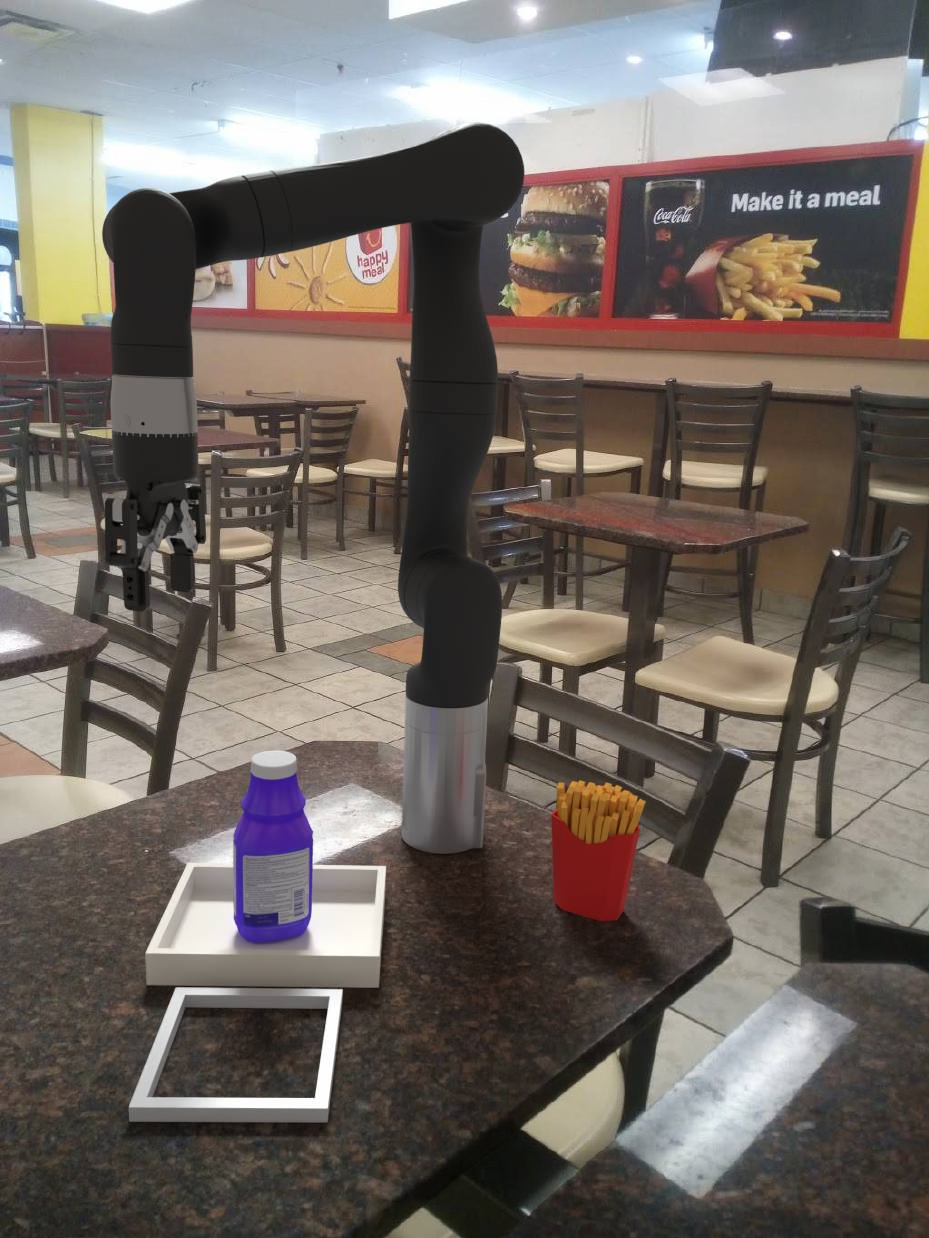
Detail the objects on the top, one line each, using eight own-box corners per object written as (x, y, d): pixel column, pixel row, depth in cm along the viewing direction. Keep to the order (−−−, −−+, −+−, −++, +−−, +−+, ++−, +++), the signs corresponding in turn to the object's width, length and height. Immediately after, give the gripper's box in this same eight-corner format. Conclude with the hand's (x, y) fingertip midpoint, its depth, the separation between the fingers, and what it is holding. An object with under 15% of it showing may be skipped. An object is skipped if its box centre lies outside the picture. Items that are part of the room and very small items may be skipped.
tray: (385, 893, 103) (386, 866, 102) (378, 987, 87) (379, 956, 86) (188, 890, 102) (187, 862, 101) (146, 984, 86) (145, 953, 85)
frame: (342, 1001, 85) (342, 989, 85) (327, 1122, 72) (327, 1108, 71) (176, 999, 84) (175, 987, 84) (129, 1121, 71) (128, 1107, 71)
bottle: (305, 908, 98) (305, 742, 94) (318, 939, 93) (319, 765, 89) (230, 920, 96) (226, 749, 91) (239, 952, 90) (236, 773, 86)
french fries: (541, 903, 102) (549, 786, 99) (557, 885, 106) (565, 771, 102) (627, 929, 98) (638, 807, 95) (640, 909, 102) (652, 791, 98)
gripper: (152, 434, 84) (159, 621, 88) (227, 425, 97) (230, 588, 101) (72, 429, 85) (82, 613, 89) (157, 421, 99) (162, 582, 103)
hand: (161, 600), depth 95 cm, fingers open, 8 cm apart
